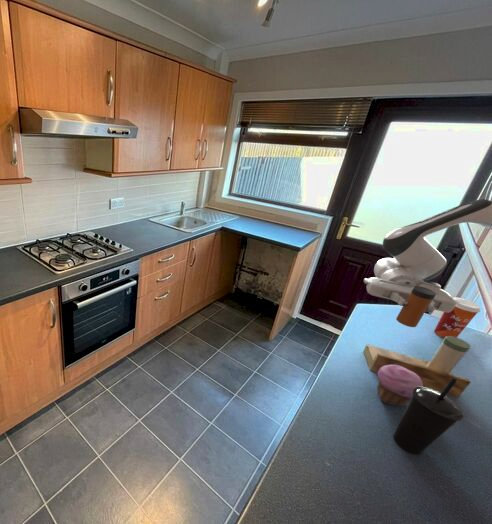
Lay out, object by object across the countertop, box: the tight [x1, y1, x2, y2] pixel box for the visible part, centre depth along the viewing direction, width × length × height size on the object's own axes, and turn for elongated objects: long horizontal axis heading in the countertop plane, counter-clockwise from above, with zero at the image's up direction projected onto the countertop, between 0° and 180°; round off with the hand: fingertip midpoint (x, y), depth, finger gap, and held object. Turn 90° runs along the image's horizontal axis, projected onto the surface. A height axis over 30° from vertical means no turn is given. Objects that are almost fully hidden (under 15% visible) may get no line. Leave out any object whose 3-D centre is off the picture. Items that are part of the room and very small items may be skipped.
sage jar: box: [426, 336, 471, 374], centre depth 78 cm, size 5×5×11 cm
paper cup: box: [433, 296, 481, 339], centre depth 98 cm, size 8×8×14 cm
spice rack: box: [362, 344, 471, 399], centre depth 82 cm, size 20×9×6 cm, turn 65°
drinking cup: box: [392, 378, 465, 455], centre depth 59 cm, size 8×8×20 cm
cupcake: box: [376, 365, 424, 407], centre depth 72 cm, size 9×9×10 cm
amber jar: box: [395, 286, 436, 328], centre depth 80 cm, size 5×5×11 cm
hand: (417, 306), depth 79 cm, fingers closed on amber jar, 4 cm apart
